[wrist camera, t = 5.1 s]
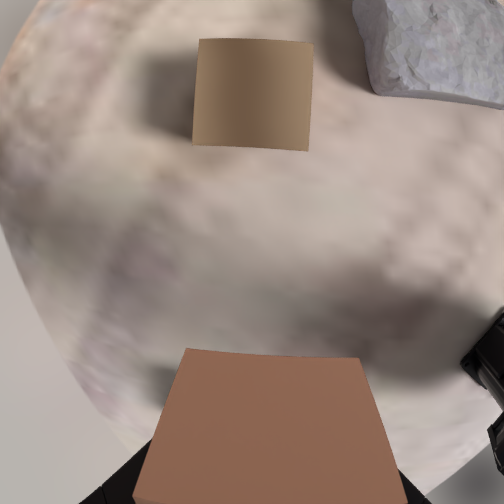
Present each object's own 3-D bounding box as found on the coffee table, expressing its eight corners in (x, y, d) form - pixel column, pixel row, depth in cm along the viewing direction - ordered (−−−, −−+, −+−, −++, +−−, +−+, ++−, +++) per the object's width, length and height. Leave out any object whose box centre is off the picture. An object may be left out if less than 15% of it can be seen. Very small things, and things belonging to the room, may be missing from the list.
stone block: (335, -14, 16) (367, 110, 17) (349, -57, 11) (397, 80, 12) (470, 10, 15) (507, 121, 16) (499, -17, 11) (548, 107, 12)
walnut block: (301, 68, 16) (313, 43, 12) (297, 150, 18) (308, 151, 13) (215, 64, 17) (199, 39, 12) (211, 145, 18) (192, 145, 13)
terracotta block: (358, 357, 9) (407, 502, 4) (326, 456, 10) (339, 568, 6) (186, 347, 9) (132, 495, 4) (194, 450, 10) (170, 561, 6)
